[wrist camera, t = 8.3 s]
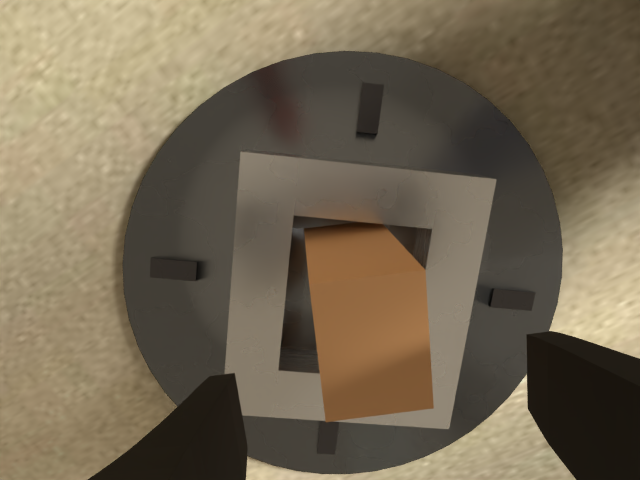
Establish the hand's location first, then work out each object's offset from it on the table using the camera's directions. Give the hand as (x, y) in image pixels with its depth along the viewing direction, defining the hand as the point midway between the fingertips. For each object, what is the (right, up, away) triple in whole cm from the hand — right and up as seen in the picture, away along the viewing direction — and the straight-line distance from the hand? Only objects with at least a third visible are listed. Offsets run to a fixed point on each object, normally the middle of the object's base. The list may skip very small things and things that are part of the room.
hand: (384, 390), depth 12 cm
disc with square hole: (-1, +2, +9) cm, 9 cm away
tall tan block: (-1, +2, +8) cm, 8 cm away
